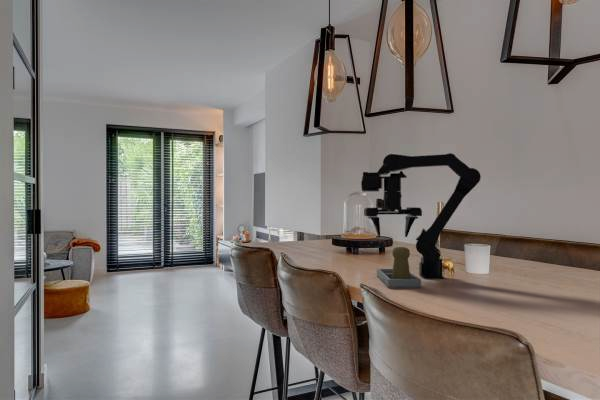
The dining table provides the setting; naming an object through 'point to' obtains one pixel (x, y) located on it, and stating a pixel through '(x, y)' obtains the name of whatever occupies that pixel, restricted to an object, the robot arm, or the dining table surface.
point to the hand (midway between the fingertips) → (392, 237)
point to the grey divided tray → (398, 280)
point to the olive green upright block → (401, 263)
